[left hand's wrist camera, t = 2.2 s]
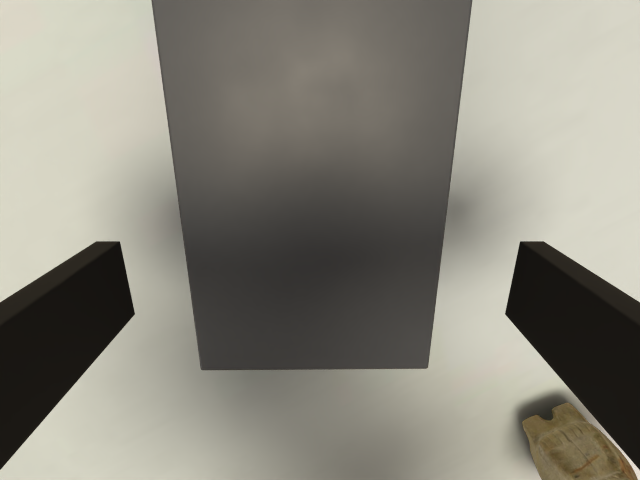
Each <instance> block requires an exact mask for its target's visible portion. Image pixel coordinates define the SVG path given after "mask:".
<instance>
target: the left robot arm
mask: <svg viewBox="0 0 640 480" xmlns="http://www.w3.org/2000/svg"><path fill="white" fill-rule="evenodd" d="M134 314H135V313H134V308H133V303H132V298H131V293H130V288H129V284H128V279H127V274H126V269H125V264H124V259H123V255H122V250H121V245H120V242H95V243H93V244H92V245H90V246H89V247H87V248H85V249H84V250H82V251H81V252H79V253H78V254H76V255H74V256H73V257H71V258H70V259H68V260H66V261H65V262H63V263H62V264H60V265H59V266H57V267H55V268H54V269H52V270H51V271H49V272H48V273H46V274H44V275H43V276H41V277H40V278H38V279H37V280H35V281H33V282H32V283H30V284H29V285H27V286H25V287H24V288H22V289H21V290H19V291H18V292H16V293H14V294H13V295H11V296H10V297H8V298H7V299H5V300H3V301H2V302H0V470H1V468H2V467H3V466H4V465H5V464H6V463H7V461H8V460H9V459H10V458H11V457H12V456H13V454H14V453H15V452H16V451H17V450H18V449H19V448H20V446H21V445H22V444H23V443H24V442H25V441H26V439H27V438H28V437H29V436H30V435H31V434H32V432H33V431H34V430H35V429H36V428H37V427H38V426H39V424H40V423H41V422H42V421H43V420H44V419H45V417H46V416H47V415H48V414H49V413H50V412H51V411H52V409H53V408H54V407H55V406H56V405H57V404H58V402H59V401H60V400H61V399H62V398H63V397H64V395H65V394H66V393H67V392H68V391H69V390H70V389H71V387H72V386H73V385H74V384H75V383H76V382H77V380H78V379H79V378H80V377H81V376H82V375H83V373H84V372H85V371H86V370H87V369H88V368H89V367H90V365H91V364H92V363H93V362H94V361H95V360H96V358H97V357H98V356H99V355H100V354H101V353H102V352H103V350H104V349H105V348H106V347H107V346H108V345H109V343H110V342H111V341H112V340H113V339H114V338H115V336H116V335H117V334H118V333H119V332H120V331H121V330H122V328H123V327H124V326H125V325H126V324H127V323H128V321H129V320H130V319H131V318H132V317H133V316H134ZM505 314H506V316H507V317H508V318H509V319H510V320H511V321H512V323H513V324H514V325H515V326H516V327H517V328H518V330H519V331H520V332H521V333H522V334H523V335H524V336H525V338H526V339H527V340H528V341H529V342H530V343H531V345H532V346H533V347H534V348H535V349H536V350H537V352H538V353H539V354H540V355H541V356H542V357H543V358H544V360H545V361H546V362H547V363H548V364H549V365H550V367H551V368H552V369H553V370H554V371H555V372H556V373H557V375H558V376H559V377H560V378H561V379H562V380H563V382H564V383H565V384H566V385H567V386H568V387H569V389H570V390H571V391H572V392H573V393H574V394H575V395H576V397H577V398H578V399H579V400H580V401H581V402H582V404H583V405H584V406H585V407H586V408H587V409H588V411H589V412H590V413H591V414H592V415H593V416H594V417H595V419H596V420H597V421H598V422H599V423H600V424H601V426H602V427H603V428H604V429H605V430H606V431H607V432H608V434H609V435H610V436H611V437H612V438H613V439H614V441H615V442H616V443H617V444H618V445H619V446H620V448H621V449H622V450H623V451H624V452H625V453H626V454H627V456H628V457H629V458H630V459H631V460H632V461H633V463H634V464H635V465H636V466H637V467H638V468H639V470H640V302H638V301H637V300H635V299H633V298H632V297H630V296H629V295H627V294H626V293H624V292H622V291H621V290H619V289H618V288H616V287H615V286H613V285H611V284H610V283H608V282H607V281H605V280H603V279H602V278H600V277H599V276H597V275H596V274H594V273H592V272H591V271H589V270H588V269H586V268H585V267H583V266H581V265H580V264H578V263H577V262H575V261H574V260H572V259H570V258H569V257H567V256H566V255H564V254H562V253H561V252H559V251H558V250H556V249H555V248H553V247H551V246H550V245H548V244H547V243H545V242H520V245H519V250H518V255H517V259H516V264H515V269H514V274H513V279H512V284H511V288H510V293H509V298H508V303H507V308H506V313H505Z"/></svg>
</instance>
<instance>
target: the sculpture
mask: <svg viewBox="0 0 640 480" xmlns="http://www.w3.org/2000/svg"><path fill="white" fill-rule="evenodd" d="M552 415H553V419H552V420H545V419H543V418H541V417H540V416H539V415H534V416H532V417H529V418H527V419H525V420H524V421H523V422H522V425H523V429H524V431H525V433H526V435H527V437H528V439H529V443H530V451H531V454H532V458H533V460H534V463H535V465H536V468H537V470H538V473H539V475H540V477H541V479H542V480H638V479H637V477H636V474H635V472H634V470H633V468H632V467H631V465H630V464H629V462H628V461H627V459H626V458H625V457H624V455H623V454H622V453H621V452H620V450H619V449H618V448H617V447H616V446H615V445H614V444H613V443H612V442H611V441H610V440H609V439H608V438H607V437H606V436H605V435H604V434H603V433H602V432H601V431H600V430H598V429H597V428H596V427H594V426H593V425H592V424H590V423H589V422H588V421H587V420H586V419H585V418H584V417H583V416H582V414H581V413H580V412H579V411H578V410H577V409H576V408H575V407H573V406H572V405H571V404H570V403H564V404H562V405H559V406H556V407H554V408H553V409H552Z"/></svg>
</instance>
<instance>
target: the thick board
mask: <svg viewBox="0 0 640 480" xmlns="http://www.w3.org/2000/svg"><path fill="white" fill-rule="evenodd" d="M152 7H153V15H154V22H155V30H156V37H157V45H158V52H159V60H160V67H161V75H162V82H163V90H164V97H165V105H166V112H167V119H168V127H169V134H170V142H171V149H172V157H173V164H174V172H175V179H176V187H177V194H178V202H179V209H180V217H181V224H182V231H183V239H184V246H185V254H186V261H187V269H188V276H189V284H190V291H191V299H192V306H193V314H194V321H195V329H196V336H197V343H198V351H199V358H200V366H201V370H293V369H426V368H428V362H429V354H430V346H431V337H432V329H433V321H434V313H435V304H436V296H437V288H438V280H439V271H440V263H441V255H442V246H443V238H444V230H445V222H446V213H447V205H448V197H449V189H450V180H451V172H452V164H453V155H454V147H455V139H456V131H457V122H458V114H459V106H460V98H461V89H462V81H463V73H464V65H465V56H466V48H467V40H468V31H469V23H470V15H471V7H472V0H152Z"/></svg>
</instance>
